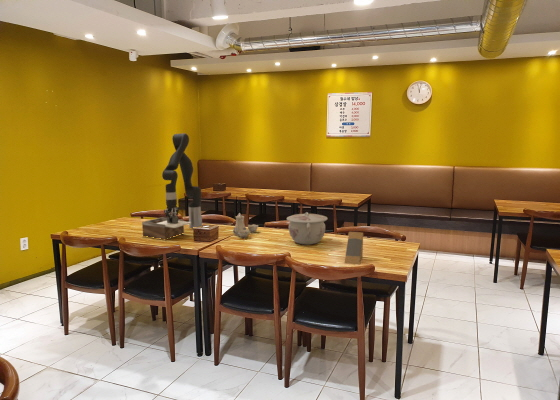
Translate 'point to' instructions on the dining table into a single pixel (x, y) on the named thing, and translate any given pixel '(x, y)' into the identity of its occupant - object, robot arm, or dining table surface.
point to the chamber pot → (307, 228)
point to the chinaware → (243, 227)
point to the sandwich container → (354, 248)
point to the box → (160, 229)
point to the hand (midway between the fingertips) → (172, 222)
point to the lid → (174, 222)
